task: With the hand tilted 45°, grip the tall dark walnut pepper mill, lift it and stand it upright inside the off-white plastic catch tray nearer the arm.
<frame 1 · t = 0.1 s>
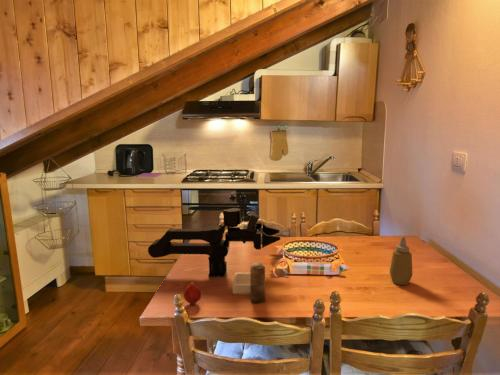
hand: (279, 234, 147), 17 cm above the table, tool horizontal, fingers open, 9 cm apart
pepper mill: (257, 300, 128), on the table
onion: (192, 304, 126), on the table
squeeze bottle: (400, 282, 141), on the table
catch tray: (249, 287, 138), on the table
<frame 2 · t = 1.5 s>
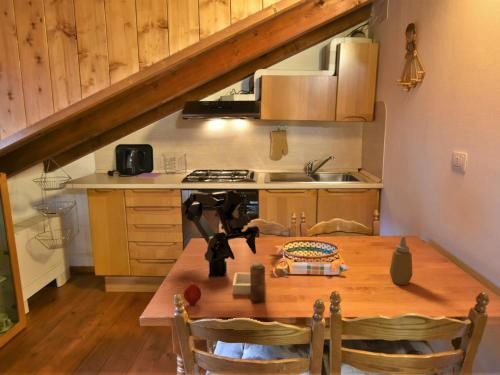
hand: (244, 256, 133), 14 cm above the table, tool tilted 45°, fingers open, 9 cm apart
nothing on the table moved.
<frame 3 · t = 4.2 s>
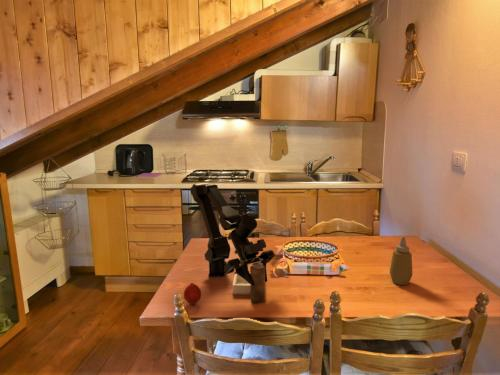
hand: (260, 283, 126), 7 cm above the table, tool tilted 45°, fingers closed on pepper mill, 5 cm apart
pepper mill: (257, 300, 128), on the table, touching gripper
everything else where it was.
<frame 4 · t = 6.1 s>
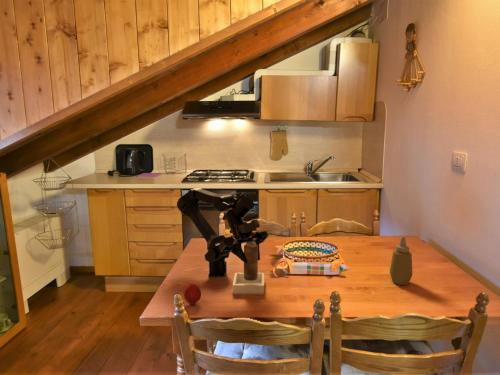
hand: (252, 261, 131), 12 cm above the table, tool tilted 45°, fingers closed on pepper mill, 5 cm apart
pepper mill: (250, 277, 134), point 5 cm above the table, touching gripper
everything else where it was.
when the fingers open (8 cm above the table, at t = 7.8 s): pepper mill drops 1 cm, resting on catch tray.
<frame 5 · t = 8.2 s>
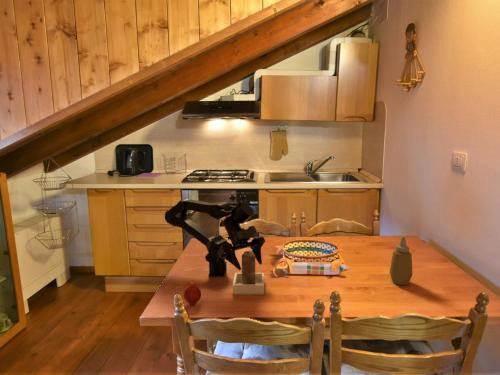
hand: (250, 266, 135), 9 cm above the table, tool tilted 45°, fingers open, 9 cm apart
pepper mill: (248, 286, 138), point 1 cm above the table, touching catch tray
everything else where it was.
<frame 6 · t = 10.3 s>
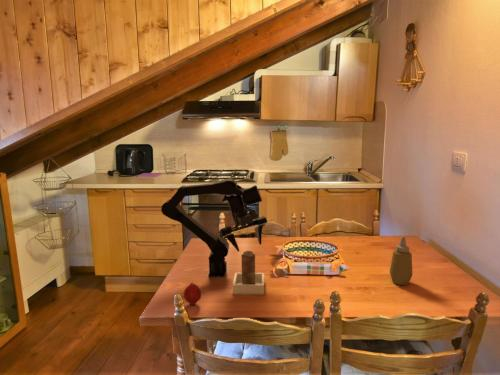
hand: (249, 248, 143), 13 cm above the table, tool tilted 25°, fingers open, 9 cm apart
nothing on the table moved.
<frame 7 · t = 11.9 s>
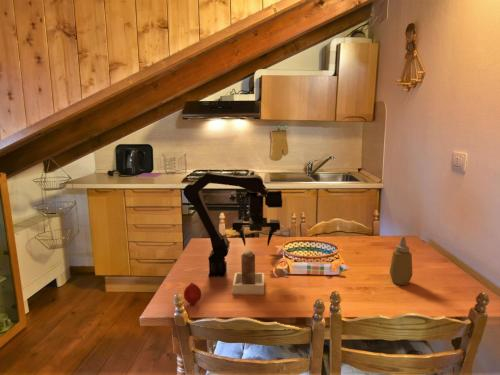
hand: (256, 245, 148), 12 cm above the table, tool pointing down, fingers open, 9 cm apart
nothing on the table moved.
at the end: pepper mill 0.1 cm off-centre on the catch tray, point 0.6 cm above the catch tray's base; pepper mill tilted 1°; the gripper is holding nothing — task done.
